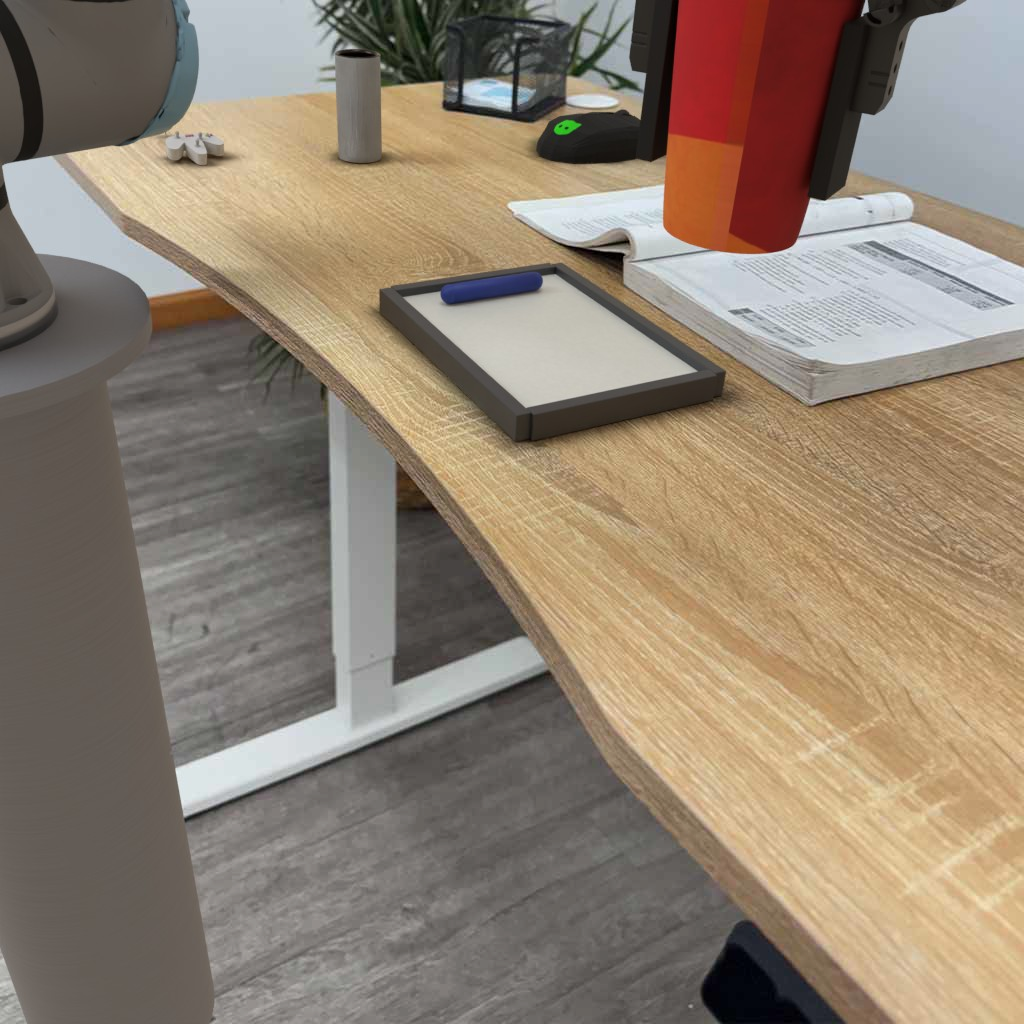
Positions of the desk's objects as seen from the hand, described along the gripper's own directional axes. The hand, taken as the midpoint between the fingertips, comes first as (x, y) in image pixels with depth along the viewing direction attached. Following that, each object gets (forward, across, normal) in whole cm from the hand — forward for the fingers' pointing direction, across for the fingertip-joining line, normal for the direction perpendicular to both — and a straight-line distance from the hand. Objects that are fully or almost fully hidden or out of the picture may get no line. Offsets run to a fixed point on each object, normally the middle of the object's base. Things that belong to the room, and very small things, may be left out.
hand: (738, 171), depth 45 cm
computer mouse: (+20, +40, -66) cm, 80 cm away
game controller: (+20, +72, -35) cm, 82 cm away
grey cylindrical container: (+20, +57, -45) cm, 75 cm away
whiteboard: (+19, +17, -15) cm, 30 cm away
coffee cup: (+3, 0, 0) cm, 3 cm away
